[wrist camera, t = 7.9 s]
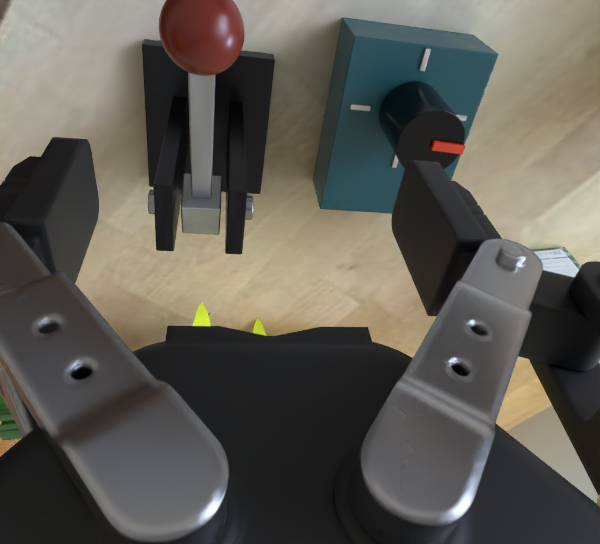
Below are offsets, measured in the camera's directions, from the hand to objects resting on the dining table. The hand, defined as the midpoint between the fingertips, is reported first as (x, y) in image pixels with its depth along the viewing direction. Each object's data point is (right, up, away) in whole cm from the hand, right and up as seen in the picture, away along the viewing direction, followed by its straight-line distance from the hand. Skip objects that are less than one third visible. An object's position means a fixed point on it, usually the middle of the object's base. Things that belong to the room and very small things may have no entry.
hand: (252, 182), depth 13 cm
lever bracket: (-6, +9, +26) cm, 28 cm away
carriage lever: (-4, +6, +12) cm, 14 cm away
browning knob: (+9, +9, +22) cm, 26 cm away
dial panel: (+8, +10, +27) cm, 30 cm away
